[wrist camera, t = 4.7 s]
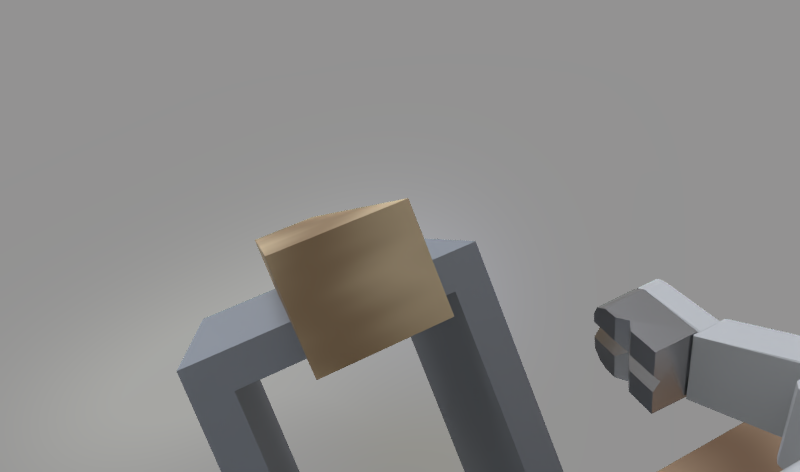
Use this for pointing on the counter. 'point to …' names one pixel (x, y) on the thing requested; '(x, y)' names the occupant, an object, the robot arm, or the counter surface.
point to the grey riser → (439, 354)
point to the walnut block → (733, 453)
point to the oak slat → (355, 282)
